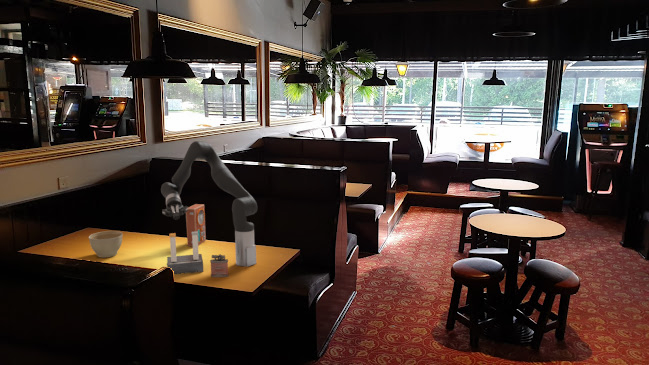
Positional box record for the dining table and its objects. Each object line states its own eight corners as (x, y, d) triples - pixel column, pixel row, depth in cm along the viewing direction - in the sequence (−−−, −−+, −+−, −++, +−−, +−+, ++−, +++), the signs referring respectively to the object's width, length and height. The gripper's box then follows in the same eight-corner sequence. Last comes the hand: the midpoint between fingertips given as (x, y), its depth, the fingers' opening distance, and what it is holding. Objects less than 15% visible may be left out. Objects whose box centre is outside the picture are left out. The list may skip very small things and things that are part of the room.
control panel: (208, 240, 280) (196, 247, 265) (196, 239, 281) (184, 246, 266) (206, 203, 276) (194, 209, 262) (195, 203, 278) (182, 209, 263)
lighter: (229, 274, 223) (228, 253, 222) (227, 276, 220) (227, 255, 218) (211, 274, 223) (210, 253, 221) (210, 277, 220) (209, 256, 218)
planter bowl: (93, 262, 241) (91, 241, 239) (87, 254, 254) (86, 234, 252) (127, 256, 250) (125, 235, 248) (119, 248, 263) (118, 229, 261)
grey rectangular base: (167, 266, 233) (167, 256, 233) (201, 263, 238) (201, 253, 237) (167, 275, 222) (167, 264, 221) (203, 271, 227) (202, 261, 226)
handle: (192, 258, 229) (191, 231, 227) (198, 257, 230) (197, 231, 228) (193, 260, 227) (191, 233, 225) (199, 259, 228) (197, 232, 226)
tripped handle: (170, 260, 226) (169, 233, 224) (177, 259, 227) (175, 233, 225) (170, 262, 224) (169, 235, 222) (177, 261, 225) (175, 234, 222)
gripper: (159, 198, 246) (161, 213, 231) (186, 194, 250) (189, 209, 235) (161, 211, 249) (163, 226, 234) (187, 207, 253) (191, 222, 239)
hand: (176, 218), depth 235 cm, fingers closed
